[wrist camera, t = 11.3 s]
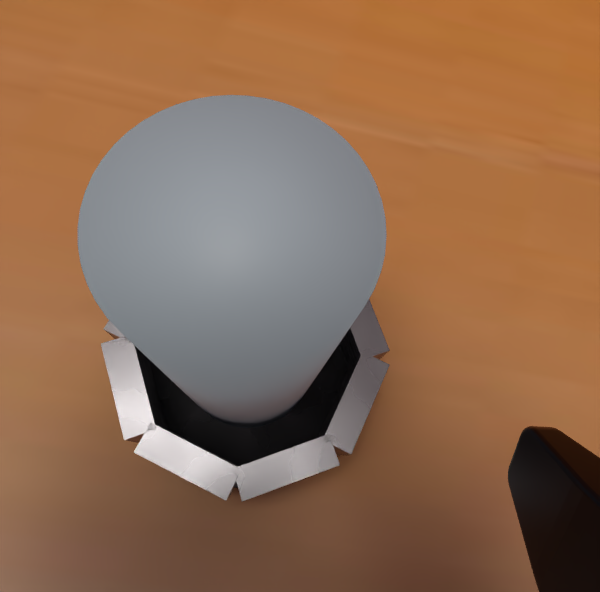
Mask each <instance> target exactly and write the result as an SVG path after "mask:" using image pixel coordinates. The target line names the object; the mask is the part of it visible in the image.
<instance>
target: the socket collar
mask: <svg viewBox="0 0 600 592" xmlns="http://www.w3.org/2000/svg"><path fill="white" fill-rule="evenodd" d="M104 330H105V331H106V332H107V333H109V334H110V335H111V336H112V337H113V338H114V340H111V341H108V342H104V343H101V346H102V350H103V354H104V359H105V363H106V367H107V371H108V375H109V379H110V384H111V388H112V392H113V396H114V400H115V404H116V408H117V413H118V417H119V421H120V425H121V429H122V433H123V437H124V440H127V441H133V442H139V444H138V446H137V447H136V449H135V451H134V453H136V454H138V455H140V456H142V457H144V458H145V459H147V460H149V461H151V462H153V463H155V464H157V465H159V466H161V467H163V468H165V469H167V470H168V471H170V472H172V473H174V474H176V475H178V476H180V477H182V478H184V479H186V480H188V481H190V482H191V483H193V484H195V485H197V486H199V487H201V488H203V489H205V490H207V491H209V492H211V493H213V494H214V495H216V496H218V497H220V498H222V499H224V500H227V499H228V498H229V496H230V495H231V493H232V491H233V489H234V487H236V488H238V489H239V492H240V496H241V499H242V501H245V500H247V499H250V498H253V497H256V496H258V495H261V494H264V493H266V492H269V491H272V490H274V489H277V488H280V487H282V486H285V485H288V484H291V483H293V482H296V481H299V480H301V479H304V478H307V477H309V476H312V475H315V474H317V473H320V472H323V471H325V470H328V469H331V468H334V467H336V466H339V465H340V464H339V461H338V458H337V455H349V454H351V453H352V451H353V449H354V446H355V444H356V442H357V439H358V437H359V435H360V432H361V430H362V428H363V425H364V423H365V421H366V418H367V416H368V414H369V411H370V409H371V407H372V404H373V402H374V400H375V397H376V395H377V393H378V390H379V388H380V386H381V383H382V381H383V379H384V377H385V374H386V372H387V370H388V367H389V364H387V363H385V362H383V361H381V360H379V359H380V358H381V357H383V356H384V355H385V354H386V353H387V352H389V351H390V350H389V348H388V345H387V343H386V340H385V338H384V335H383V333H382V330H381V328H380V325H379V323H378V320H377V318H376V315H375V313H374V310H373V308H372V305H371V303H370V300H368V301H367V303H366V305H365V307H364V308H363V310H362V311H361V312H360V314H359V315H358V317H357V318H356V320H355V321H354V323H353V324H352V326H351V327H350V328H349V330H348V331H347V333H346V334H345V336H344V337H343V339H342V340H341V342H340V343H339V345H338V346H337V347H336V349H335V350H334V352H333V353H332V355H331V356H330V358H329V359H328V361H327V362H326V363H325V365H324V366H323V368H322V369H321V371H320V372H319V374H318V375H317V377H316V378H315V380H314V381H313V382H312V384H311V385H310V387H309V388H308V390H307V391H306V393H305V394H304V396H303V397H302V398H301V400H300V401H299V402H298V404H297V405H296V406H295V407H294V408H293V409H292V410H291V411H290V412H289V413H288V414H286V415H285V416H284V417H282V418H280V419H279V420H277V421H275V422H272V423H270V424H267V425H264V426H260V427H253V428H242V427H234V426H231V425H227V424H224V423H222V422H220V421H217V420H216V419H214V418H212V417H211V416H210V415H208V414H207V413H206V412H205V411H203V410H202V409H201V408H200V407H199V406H198V405H197V404H196V403H195V402H194V401H193V400H192V399H191V398H190V397H189V396H188V395H186V394H185V393H184V392H183V391H182V390H181V389H180V388H179V387H178V386H177V385H176V384H175V383H174V382H173V381H172V380H171V379H170V378H168V377H167V376H166V375H165V374H164V373H163V372H162V371H161V370H160V369H159V368H158V367H157V366H156V365H155V364H154V363H153V362H152V361H150V360H149V359H148V358H147V357H146V356H145V355H144V354H143V353H142V352H141V351H140V350H139V349H138V348H137V347H136V346H135V345H133V344H132V343H131V342H130V341H129V340H128V339H127V338H126V337H125V336H124V335H123V334H122V333H121V332H120V331H119V330H118V329H117V328H116V327H115V326H114V325H113V324H112V323H111V321H110V320H109V321H108V323H107V324H106V326H105V328H104ZM336 454H337V455H336Z"/></svg>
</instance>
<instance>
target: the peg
mask: <svg viewBox="0 0 600 592" xmlns="http://www.w3.org/2000/svg"><path fill="white" fill-rule="evenodd" d="M385 248H386V221H385V214H384V209H383V204H382V200H381V197H380V194H379V191H378V188H377V186H376V183H375V181H374V179H373V177H372V175H371V173H370V171H369V169H368V168H367V166H366V165H365V163H364V162H363V160H362V159H361V157H360V156H359V155H358V153H357V152H356V151H355V150H354V149H353V148H352V147H351V145H350V144H349V143H348V142H347V141H346V140H345V139H344V138H343V137H342V136H340V135H339V134H338V133H337V132H336V131H335V130H334V129H332V128H331V127H329V126H328V125H327V124H325V123H324V122H322V121H321V120H319V119H318V118H316V117H314V116H312V115H310V114H308V113H306V112H305V111H303V110H300V109H298V108H295V107H293V106H290V105H288V104H285V103H281V102H278V101H274V100H270V99H266V98H259V97H253V96H240V95H224V96H211V97H205V98H199V99H194V100H190V101H187V102H184V103H180V104H177V105H174V106H172V107H169V108H167V109H165V110H162V111H160V112H158V113H156V114H154V115H152V116H151V117H149V118H147V119H145V120H144V121H142V122H141V123H139V124H138V125H137V126H135V127H134V128H132V129H131V130H130V131H128V132H127V133H126V134H125V135H124V136H123V137H122V138H121V139H120V140H119V141H118V142H117V143H115V144H114V146H113V147H112V148H111V149H110V150H109V152H108V153H107V154H106V155H105V156H104V158H103V159H102V161H101V162H100V164H99V165H98V167H97V169H96V170H95V172H94V173H93V175H92V178H91V180H90V182H89V184H88V186H87V189H86V191H85V194H84V198H83V201H82V205H81V208H80V214H79V222H78V250H79V256H80V262H81V267H82V270H83V273H84V276H85V279H86V282H87V285H88V287H89V289H90V291H91V293H92V295H93V297H94V299H95V301H96V303H97V304H98V305H99V307H100V308H101V310H102V311H103V313H104V314H105V315H106V317H107V318H108V319H109V320H110V321H111V323H112V324H113V325H114V326H115V327H116V328H117V329H118V330H119V331H120V332H121V333H122V334H123V335H124V336H125V337H126V338H127V339H128V340H129V341H130V342H131V343H132V344H133V345H135V346H136V347H137V348H138V349H139V350H140V351H141V352H142V353H143V354H144V355H145V356H146V357H147V358H148V359H149V360H150V361H152V362H153V363H154V364H155V365H156V366H157V367H158V368H159V369H160V370H161V371H162V372H163V373H164V374H165V375H166V376H167V377H168V378H170V379H171V380H172V381H173V382H174V383H175V384H176V385H177V386H178V387H179V388H180V389H181V390H182V391H183V392H184V393H185V394H186V395H188V396H189V397H190V398H191V399H192V400H193V401H194V402H195V403H196V404H197V405H198V406H199V407H200V408H201V409H202V410H203V411H205V412H206V413H207V414H208V415H210V416H211V417H212V418H214V419H216V420H217V421H220V422H222V423H224V424H227V425H231V426H234V427H242V428H253V427H260V426H264V425H267V424H270V423H272V422H275V421H277V420H279V419H280V418H282V417H284V416H285V415H286V414H288V413H289V412H290V411H291V410H292V409H293V408H294V407H295V406H296V405H297V404H298V402H299V401H300V400H301V398H302V397H303V396H304V394H305V393H306V391H307V390H308V388H309V387H310V385H311V384H312V382H313V381H314V380H315V378H316V377H317V375H318V374H319V372H320V371H321V369H322V368H323V366H324V365H325V363H326V362H327V361H328V359H329V358H330V356H331V355H332V353H333V352H334V350H335V349H336V347H337V346H338V345H339V343H340V342H341V340H342V339H343V337H344V336H345V334H346V333H347V331H348V330H349V328H350V327H351V326H352V324H353V323H354V321H355V320H356V318H357V317H358V315H359V314H360V312H361V311H362V310H363V308H364V307H365V305H366V303H367V301H368V300H369V298H370V296H371V294H372V292H373V291H374V289H375V286H376V283H377V281H378V278H379V275H380V273H381V269H382V265H383V260H384V256H385Z"/></svg>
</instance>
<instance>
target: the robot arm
mask: <svg viewBox="0 0 600 592" xmlns="http://www.w3.org/2000/svg"><path fill="white" fill-rule="evenodd" d="M508 482H509V487H510V490H511V494H512V498H513V501H514V505H515V509H516V512H517V516H518V519H519V523H520V527H521V530H522V534H523V538H524V541H525V545H526V548H527V552H528V556H529V559H530V563H531V567H532V570H533V574H534V577H535V580H536V583H537V587H538V590H539V592H600V458H599V457H598V456H596V455H595V454H593V453H592V452H590V451H589V450H587V449H586V448H584V447H583V446H582V445H580V444H579V443H577V442H576V441H574V440H573V439H571V438H570V437H568V436H567V435H565V434H564V433H563V432H561V431H560V430H558V429H556V428H552V427H537V426H530V427H527V428H525V429H524V430H523V431H522V433H521V436H520V438H519V441H518V444H517V446H516V449H515V452H514V455H513V457H512V460H511V463H510V466H509V470H508Z"/></svg>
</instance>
